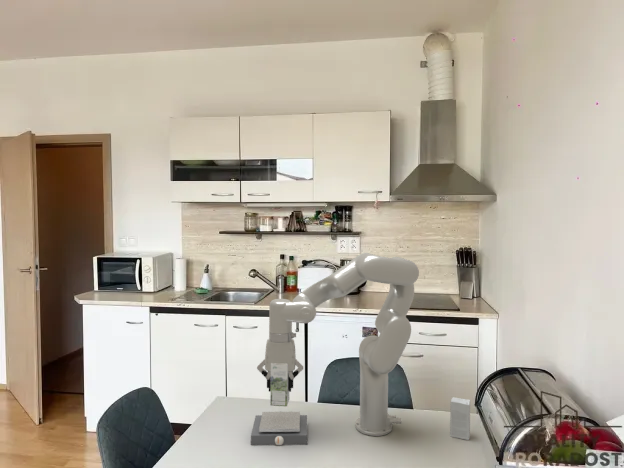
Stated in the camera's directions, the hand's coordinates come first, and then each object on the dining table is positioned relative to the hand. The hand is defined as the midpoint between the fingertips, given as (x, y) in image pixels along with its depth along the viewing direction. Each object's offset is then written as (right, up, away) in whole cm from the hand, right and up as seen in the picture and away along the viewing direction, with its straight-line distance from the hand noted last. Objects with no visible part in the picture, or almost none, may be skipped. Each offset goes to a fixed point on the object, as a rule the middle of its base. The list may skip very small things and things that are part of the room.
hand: (280, 389), depth 145 cm
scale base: (0, -15, +1) cm, 15 cm away
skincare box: (+60, -16, 0) cm, 62 cm away
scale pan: (0, -11, 0) cm, 11 cm away
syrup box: (0, -5, 0) cm, 5 cm away
